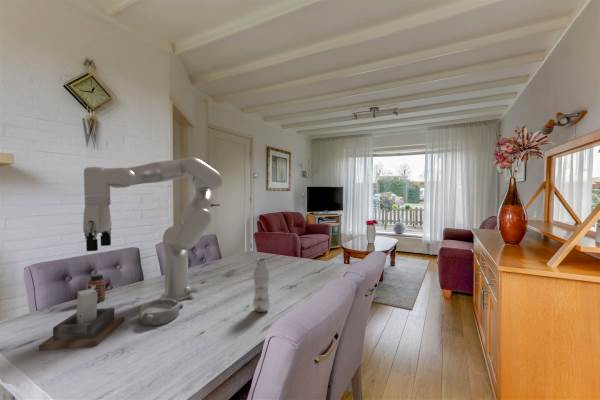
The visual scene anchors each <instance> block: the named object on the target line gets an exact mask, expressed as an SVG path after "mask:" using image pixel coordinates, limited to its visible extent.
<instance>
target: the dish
mask: <svg viewBox="0 0 600 400" xmlns="http://www.w3.org/2000/svg"><path fill="white" fill-rule="evenodd" d="M183 307H184V303H183V302H181V303H180V301H175V300H173V299H161V298H158V299H154V300H153V299H152V300H150V301H147V302H145V303H142V305H140V307H139V314H138V315H139V316H138V317H139V321H140V323H141V324H143V325H144V326H161V325H164V324H167V323H169V322H171V321H174V320H175V319H177V317H178V316H179V315H180V310H182V309H183Z"/></svg>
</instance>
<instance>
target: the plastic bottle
mask: <svg viewBox="0 0 600 400" xmlns="http://www.w3.org/2000/svg"><path fill="white" fill-rule="evenodd" d="M269 280H270V270H269V268H268V267H267V259H266V258H258V259H256V267H255V269H254V270H253V281H254V298H253V304H252V306H253V310H254V311H255V312H257V313H264V312H267V311H268V310H269V309H270V304H271V301H270V297H269V283H270V281H269Z"/></svg>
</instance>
